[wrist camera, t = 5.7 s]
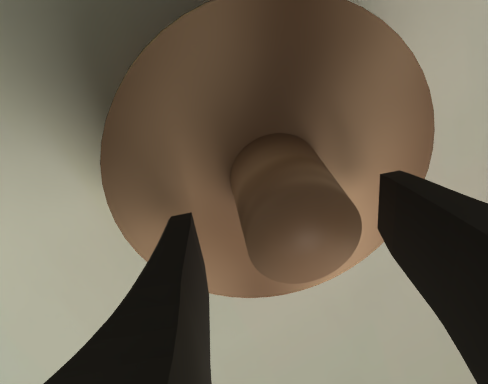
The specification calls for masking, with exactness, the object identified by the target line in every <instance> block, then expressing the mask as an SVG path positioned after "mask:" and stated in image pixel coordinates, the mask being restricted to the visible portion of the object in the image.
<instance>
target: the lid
mask: <svg viewBox="0 0 488 384" xmlns="http://www.w3.org/2000/svg"><path fill="white" fill-rule="evenodd" d="M433 141H434V110H433V105H432V99H431V94H430V90H429V87H428V84H427V81H426V79H425V76H424V73H423V71H422V69H421V67H420V65H419V63H418V61H417V60H416V58H415V56H414V54H413V52H412V51H411V50H410V49H409V47H408V46H407V45H406V44H405V42H404V41H403V40H402V38H401V37H400V36H399V35H398V34H397V33H396V32H395V31H394V30H393V29H392V28H390V27H389V26H388V25H387V24H386V23H385V22H384V21H383V20H381V19H380V18H378V17H377V16H375V15H374V14H372V13H371V12H369V11H367V10H366V9H364V8H363V7H361V6H358V5H356V4H354V3H352V2H349V1H347V0H212V1H209V2H207V3H205V4H203V5H201V6H199V7H197V8H195V9H193V10H192V11H190V12H188V13H186V14H184V15H182V16H181V17H180V18H178V19H177V20H176V21H174V22H173V23H172V24H170V25H169V26H168V27H166V28H165V29H164V30H162V31H161V32H160V33H159V34H158V35H157V36H156V37H155V38H154V39H153V40H152V41H151V42H150V43H149V44H148V45H147V46H146V47H145V48H144V49H143V51H142V52H141V53H140V55H139V56H138V57H137V58H136V60H135V61H134V62H133V64H132V65H131V66H130V68H129V70H128V71H127V73H126V75H125V77H124V79H123V80H122V82H121V84H120V86H119V88H118V90H117V92H116V94H115V96H114V99H113V102H112V104H111V107H110V110H109V113H108V115H107V118H106V122H105V127H104V132H103V136H102V141H101V160H100V165H101V175H102V185H103V188H104V192H105V196H106V200H107V204H108V206H109V209H110V211H111V213H112V216H113V218H114V220H115V222H116V224H117V226H118V227H119V229H120V231H121V232H122V234H123V235H124V237H125V239H126V240H127V241H128V242H129V243H130V245H131V246H132V247H133V248H134V249H135V251H136V252H137V253H138V254H139V255H140V256H141V257H143V258H144V259H145V260H146V261H147V262H148V260H149V259H150V257H151V255H152V253H153V251H154V249H155V247H156V246H157V244H158V241H159V239H160V237H161V235H162V233H163V231H164V229H165V227H166V224H167V222H168V220H169V219H170V217H171V216H176V215H180V214H185V213H190V212H192V216H193V220H194V224H195V228H196V232H197V236H198V240H199V243H200V247H201V251H202V255H203V259H204V263H205V269H206V276H207V283H208V291H209V293H211V294H215V295H222V296H228V297H241V298H258V297H271V296H278V295H284V294H289V293H293V292H297V291H301V290H304V289H307V288H310V287H313V286H316V285H319V284H321V283H323V282H325V281H328V280H330V279H332V278H334V277H336V276H338V275H340V274H341V273H343V272H345V271H347V270H349V269H350V268H352V267H353V266H355V265H356V264H358V263H359V262H360V261H362V260H363V259H365V258H366V257H367V256H368V255H370V254H371V253H372V252H373V251H374V250H376V249H377V248H378V247H379V246H380V245H381V244H382V243H383V242H384V240H383V238H382V236H381V235H380V233H379V231H378V229H377V226H378V205H379V184H380V174H383V173H388V172H393V171H398V170H400V171H404V172H407V173H410V174H412V175H415V176H418V177H420V178H423V179H425V177H426V174H427V171H428V168H429V164H430V159H431V155H432V150H433Z"/></svg>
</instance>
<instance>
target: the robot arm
mask: <svg viewBox="0 0 488 384" xmlns="http://www.w3.org/2000/svg"><path fill="white" fill-rule="evenodd" d="M377 229H378V231H379V233H380V235H381V236H382V238H383V240H384V242H385V244H386V246H387V248H388V249H389V251H390V253H391V255H392V256H393V257H394V259H395V260H396V262H397V263H398V264H399V266H400V267H401V268H402V270H403V271H404V272H405V274H406V275H407V277H408V278H409V279H410V280H411V282H412V283H413V284H414V286H415V287H416V288H417V290H418V291H419V292H420V294H421V295H422V296H423V298H424V299H425V300H426V302H427V303H428V304H429V306H430V307H431V308H432V310H433V311H434V312H435V314H436V315H437V317H438V318H439V320H440V321H441V322H442V324H443V325H444V327H445V329H446V330H447V332H448V334H449V335H450V337H451V339H452V340H453V342H454V344H455V345H456V347H457V349H458V350H459V352H460V354H461V355H462V357H463V359H464V361H465V362H466V364H467V366H468V368H469V370H470V371H471V373H472V375H473V377H474V378H475V380H476V382H477V384H488V203H485V202H482V201H479V200H476V199H474V198H471V197H468V196H466V195H463V194H460V193H458V192H455V191H453V190H450V189H448V188H445V187H443V186H440V185H438V184H435V183H433V182H430V181H428V180H425V179H423V178H420V177H418V176H415V175H412V174H410V173H407V172H404V171H400V170H398V171H393V172H388V173H383V174H380V184H379V205H378V226H377ZM44 384H212V383H211V369H210V323H209V291H208V283H207V276H206V269H205V263H204V259H203V255H202V251H201V247H200V243H199V240H198V236H197V232H196V228H195V224H194V220H193V216H192V212H190V213H185V214H180V215H176V216H171V217H170V219H169V220H168V222H167V224H166V227H165V229H164V231H163V233H162V235H161V237H160V239H159V241H158V244H157V246H156V247H155V249H154V251H153V253H152V255H151V257H150V259H149V260H148V262H147V264H146V266H145V267H144V269H143V271H142V272H141V274H140V275H139V277H138V279H137V280H136V282H135V283H134V285H133V287H132V288H131V289H130V291H129V292H128V294H127V295H126V297H125V298H124V299H123V301H122V302H121V303H120V305H119V306H118V307H117V309H116V310H115V311H114V313H113V314H112V315H111V316H110V318H109V319H108V320H107V321H106V322H105V323H104V324H103V325H102V327H101V328H100V329H99V330H98V331H97V332H96V333H95V334H94V335H93V337H92V338H91V339H90V340H89V341H88V342H87V343H86V344H85V345H84V346H83V347H82V348H81V349H80V350H79V351H78V352H77V353H76V354H75V355H74V356H73V357H72V358H71V359H70V360H69V361H68V362H67V363H66V364H65V365H64V366H63V367H61V368H60V369H59V370H58V371H57V372H56V373H55V374H54V375H53V376H52V377H51V378H49V379H48V380H47V381H46V382H45V383H44Z"/></svg>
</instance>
